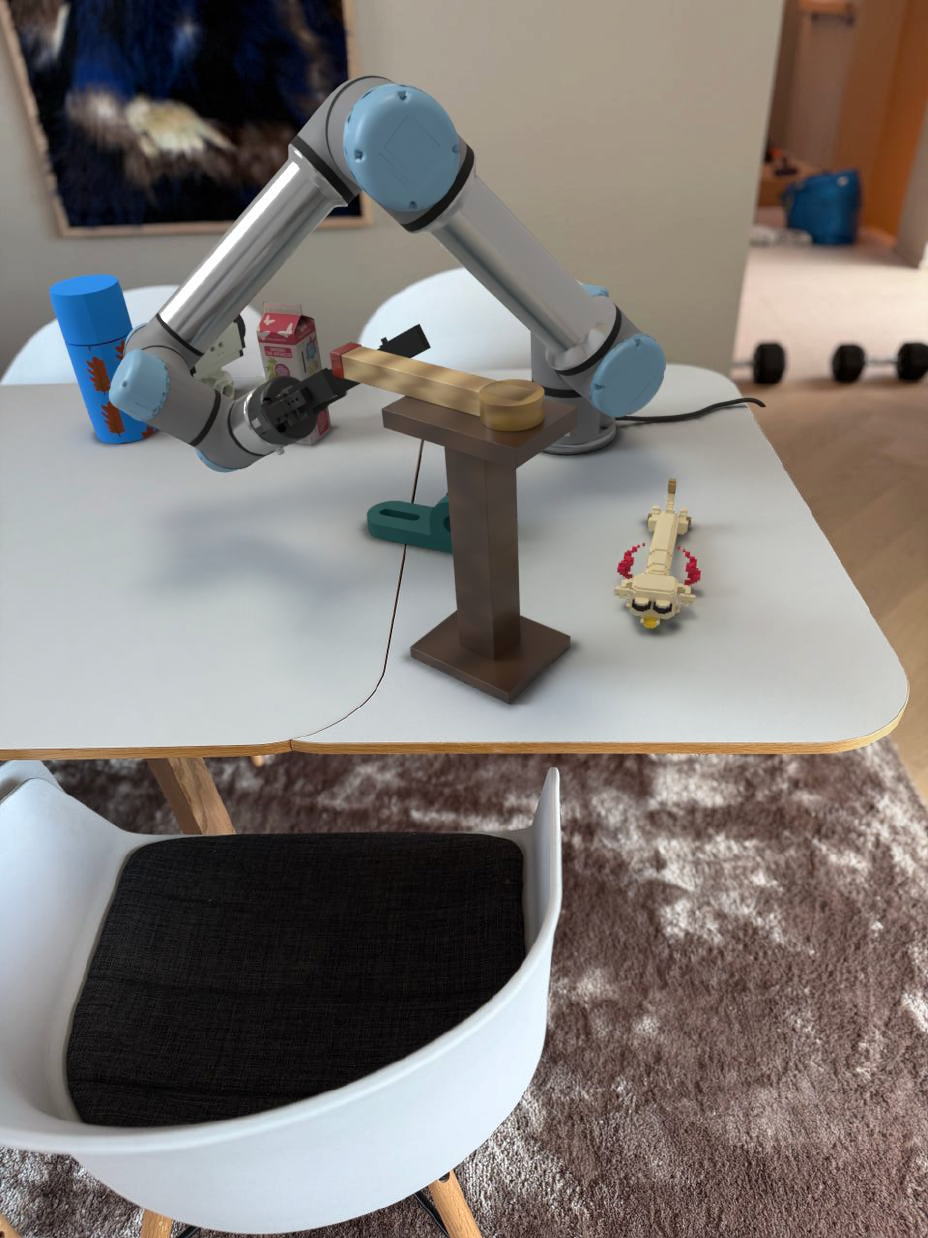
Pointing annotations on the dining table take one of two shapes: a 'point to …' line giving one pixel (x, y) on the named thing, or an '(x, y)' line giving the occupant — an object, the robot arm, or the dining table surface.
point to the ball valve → (222, 358)
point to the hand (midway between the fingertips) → (379, 357)
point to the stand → (485, 546)
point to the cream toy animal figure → (659, 568)
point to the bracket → (412, 524)
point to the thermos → (97, 349)
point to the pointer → (444, 387)
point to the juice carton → (291, 351)
